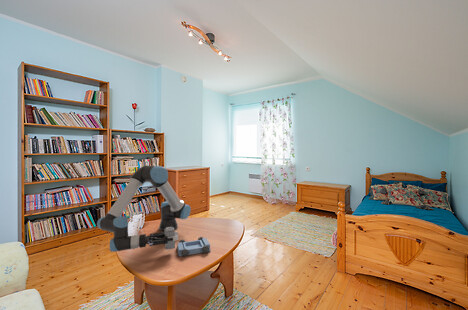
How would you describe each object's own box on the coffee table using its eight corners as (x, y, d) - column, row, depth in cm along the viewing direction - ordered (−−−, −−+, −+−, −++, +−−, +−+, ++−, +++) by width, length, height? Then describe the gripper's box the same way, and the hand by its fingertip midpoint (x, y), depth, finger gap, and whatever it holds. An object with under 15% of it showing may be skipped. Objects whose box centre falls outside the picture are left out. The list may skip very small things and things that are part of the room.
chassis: (177, 246, 145) (177, 240, 145) (205, 242, 152) (205, 236, 151) (179, 257, 130) (179, 250, 129) (211, 252, 136) (211, 245, 136)
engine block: (164, 245, 137) (164, 227, 137) (174, 244, 139) (174, 225, 139) (165, 249, 131) (164, 230, 131) (175, 248, 133) (174, 229, 133)
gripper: (140, 240, 138) (176, 235, 146) (137, 254, 120) (179, 247, 128) (140, 229, 138) (176, 224, 146) (137, 241, 120) (179, 235, 128)
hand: (177, 235), depth 137 cm, fingers closed on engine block, 6 cm apart
